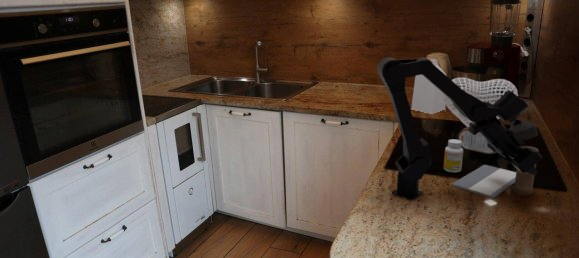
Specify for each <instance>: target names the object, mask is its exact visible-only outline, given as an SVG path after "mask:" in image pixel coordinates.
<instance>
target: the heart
mask: <svg viewBox="0 0 579 258" xmlns="http://www.w3.org/2000/svg"><path fill="white" fill-rule="evenodd" d="M451 80H452V81H453V82H454V83H455V84H456V85H458V86H459V87H460V88H461V89H462V90H463V91H465V92H467V93H468V94H470V95H472V96H474V97H476V98H477V99H479V100H481V101H483V102H489V103H491V104H494V103H495V102H496V101H497V100H499V99H500V98H501V97H502V96H503V95H504V93H505V92H507V91H508V90H509V91H512V92H513V93H514V94H515V95H517V96H518V97H519V94H518V89H517V87H516V86H515V85H514V84H513V83H512V82H511V81H509V80H507V79H503V78H495V79H490V80H486V81H479V80H478V81H477V80H475V79H471V78H469V77H468V78H467V77H456V78H453V79H451ZM501 92H502V93H501ZM443 99H444V102H445V104H446V106H445V107H446V108H448V110H449V111H450V112H451V113H452V114H453V115H454V116H455V117H456V118H457V119H459V120H460V122H461V123H463V125H465V126H466V127H469V126H470V125H469V124H470V123H474V122H472V121H470V120H469V119H467V118H466V117H464V116H463V115H461V113H460V112H459V111H458V110H457V108H456V107H455V106H454V104H453V103H452V101H451V100H450V99H449V98H448V97H447V96H446V95H445V94H444V93H443ZM491 101H492V102H491ZM496 117H497V118H498V120H501V119H500V118H499V117H498V116H496Z"/></svg>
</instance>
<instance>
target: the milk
mask: <svg viewBox="0 0 579 258" xmlns="http://www.w3.org/2000/svg"><path fill="white" fill-rule="evenodd" d="M429 60H430V61H431V62H432V63H433V64H434V65H435V66H436V67H437V68H438V69H439V70H440V71H442V72H443V73H444V74H445V75H446V76H447V73H446V72H445V71H444V70H443V69H442V68H441V67H440V65H438V64H439V63H438V59H429ZM414 77H415V78H414V84H413V92H412V100H411V101H412V102H411V107H410V109H411V110H415V111H420V112H424V113H429V114H434V113H437V112H440V111H442V110H445V111H446V107H447V106H446V104H445V102H444V99H443V92H441V91H440V90H439V89H438V88H437V87H436V86H434V85H433V84H432V83H431V82H430V81H429V80H428V79H426V78H425V77H424V76H423V75H417V76H414Z"/></svg>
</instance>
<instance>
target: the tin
mask: <svg viewBox="0 0 579 258" xmlns="http://www.w3.org/2000/svg"><path fill="white" fill-rule="evenodd" d="M468 130H469V127H467V126H466V127H464V128H462V130H460V131H459V133H458V134H457V140H460V141H461V142H462V145H461V148H462V149H463V150H467V151H470V152H471V151H472V152H476V153H481V154H486V155H493V154H495V153H494V152H493V151H491V150H490V149H489V148H488V147H487V143H488V142H487V141H486V140H487V139H486V138H485V137H484V136H483V135H482V134H481V133H480V132H478V133H477V134H476V135H473V134H472V133H470V132H469V131H468ZM496 153H498V152H497V151H496Z"/></svg>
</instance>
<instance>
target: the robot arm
mask: <svg viewBox="0 0 579 258" xmlns="http://www.w3.org/2000/svg"><path fill="white" fill-rule="evenodd" d="M430 60H431V59H428V58H426V57H419V58H403V59H401V58H400V59H396V58H393V57H390V56H387V57H383V58H382V59H381V60H380V61H379V62H378V64H377V67H376V69H377V73H378V75H379V77H380V79H381V81H382V83H383V84H384V86H385V88H386V90H387V91H388V93H389V96H390V99H391V103H392V106H393V109H394V113H395V116H396V119H397V123H398V126H399V129H400V132H401V136H402V140H403V141H402V152H403V154H402V155H401V156H400V157H399V158H398V159H397V160H396V161H395V165H396V169H398V173H397V178H396V179H397V181H396V189H394V190H392V191H391V194H393V195H394V196H395V195H396V196H398V197H400V198H403V199H406V200H409V201H414V199H416V198H418V197H420V196H422V195H423V194H424V191H422V190H419V189H420V180H422V178H423V176H424V174H425V172H426V171H427V170H429V168H430V166H431V165H432V160H431V159H433V157H434V156H432V154H431V149H430V144H428V142H427V141H426V140H425V139H424V138H423V137H421V138H420V137H419V134H418V129H417V127H416V124H415V120H414V119H415V118H414V117H413V113H412V112H411V106H410V103H409V99H408V95H407V91H406V83H407V81H406V79H407V78H412V77H416V76H417V75H423V76H424V77H425V78H426V79H428V80H429V81H430V82H431V83H432V84H433V85H434V86H436V87H437V88H438V89H439V90H440V91H441V92H443V93H444V94H445V95H446V96H447V97H448V99H450V100H451V101H452V103H453V104H454V105H453V106H455V108H456V109H457V110H458V111H459V112H460V113H461V115H463V116H464V118H465V117H466V118H467V119H466V120H468V119H469V120H470V121H472V122H471V123H470V124H469V123H468V124H469V125H470V126H469V130H468V131H469V132H470V133H472V134H473V135H476V134H477V133H478V132H480V133H481V134H482V135H483V136H484V137H485V138H486V139H487V140H486V141H487V142H488V143H487V147H488V148H489V149H490V150H491V151H493V152H494V154H497V156H498V157H499V158H501V159H502V160H505V161H508V162H510V163H511V164H512V167H514V168H515V169H516V170H517V169H518V170H519V171H521V172H522V173H525V172H527V173H530V174H533V175H537V174H538V171H537V167H536V168H535V164H536V165H537V164H538V163H539V162H540V161H542V160H543V155H541V153H540V152H537V151H536V150H534V149H532V148H525V149H522V148H520V147H522V146H525V144H526V143H525V142H524V141H527V140H530V139H532V138H536V137H538V135H539V133H538V132H539V131H538V129H537V127H536V124H535V123H533V122H531V121H529V120H522V121H521V119H519V118H518V117H519V116H520V115H521V114H523V113H524V112H525V111H526V110H527V109H528V108H529V105H528V103H527V102H526V101H525V100H524V99H521V98H520V97H519V95H518V96H517V95H515V94H514V93H513V90H512V91H510V90H508V91H507V92H506V91H505V93H504V95H501V98H500V97H499V98H500V99H499V100H498V99H497V101H496V100H495V103H494V104H491V103H492V102H490V103H489V101H488V102H487V101H484V102H483V101H481V100H479V98H478V97H477V98H476V97H474V95H473V94H472V95H473V96H472V95H471V94H469V93H467V92H468V91H467V92H466V91H465V90H462V89H461V88H460V87H461V86H458V85H457V84H455V83H454V82H453V81H452V80H453V79H451V78H450V77H448V76H447V74H446V73H445V72H444V73H445V74H446V75H445V74H444V73H443V72H442V71H440V70H439V69H438V68H437V67H436V66H435V65H434V64H433V63H432V62H431V61H430ZM452 103H451V104H452ZM458 111H457V112H458ZM496 116H497V117H499V118H500V119H498V118H497V117H496ZM500 120H501V121H500ZM473 122H474V123H473ZM502 122H504V123H507V122H508V123H510V125H509V128H507V127H506V126H505V125H504V124H503V123H502ZM496 151H497V152H496Z"/></svg>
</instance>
